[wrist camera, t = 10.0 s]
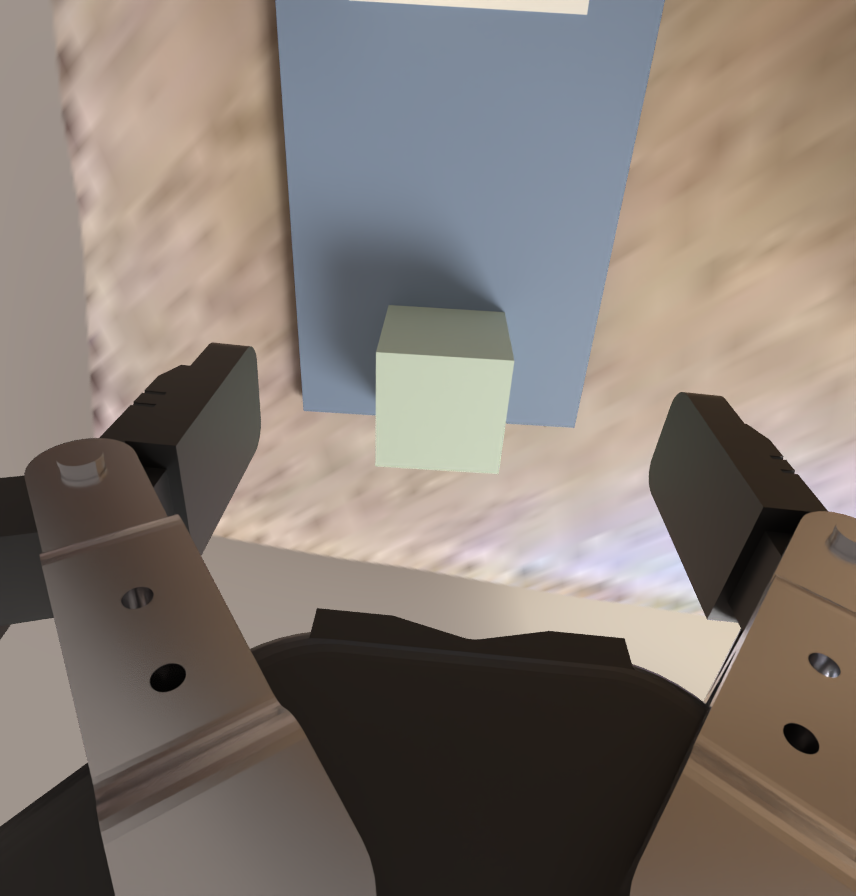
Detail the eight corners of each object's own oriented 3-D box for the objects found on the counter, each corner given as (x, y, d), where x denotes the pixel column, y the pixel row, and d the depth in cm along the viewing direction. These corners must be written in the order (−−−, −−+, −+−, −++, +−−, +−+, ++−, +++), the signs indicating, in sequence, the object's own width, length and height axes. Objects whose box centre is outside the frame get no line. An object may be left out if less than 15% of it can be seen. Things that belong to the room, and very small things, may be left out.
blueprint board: (749, -448, 16) (767, -480, 15) (570, 417, 30) (574, 428, 29) (251, -477, 16) (238, -510, 15) (307, 400, 30) (303, 411, 29)
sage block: (504, 312, 26) (514, 360, 22) (492, 413, 29) (498, 474, 25) (388, 305, 26) (375, 352, 22) (386, 406, 29) (375, 466, 25)
